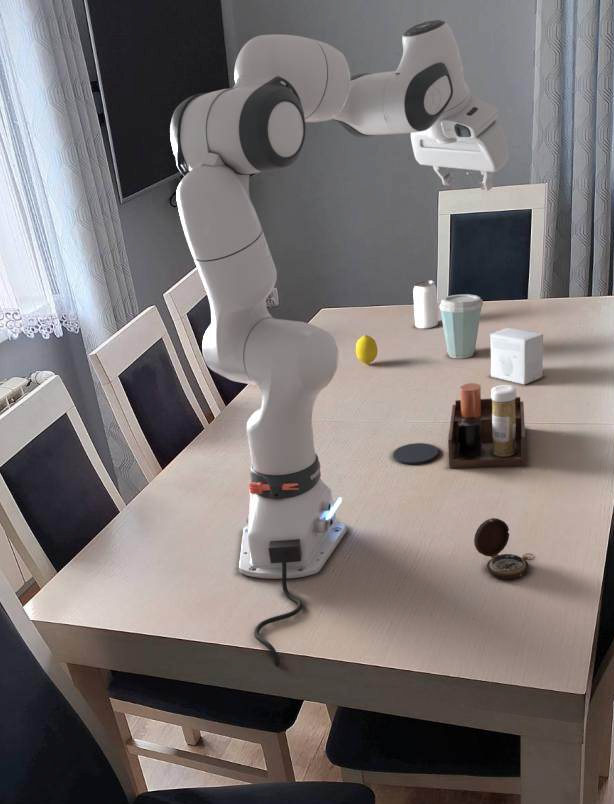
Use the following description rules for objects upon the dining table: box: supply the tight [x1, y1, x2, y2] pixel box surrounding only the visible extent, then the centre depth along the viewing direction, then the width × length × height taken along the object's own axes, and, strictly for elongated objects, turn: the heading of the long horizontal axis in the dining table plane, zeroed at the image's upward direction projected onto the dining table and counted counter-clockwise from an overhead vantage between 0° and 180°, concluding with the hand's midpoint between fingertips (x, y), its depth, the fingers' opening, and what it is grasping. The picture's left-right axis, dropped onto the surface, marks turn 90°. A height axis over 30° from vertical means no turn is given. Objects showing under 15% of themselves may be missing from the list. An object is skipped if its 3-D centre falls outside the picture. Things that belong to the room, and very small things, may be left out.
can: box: [412, 280, 439, 330], centre depth 246 cm, size 6×6×12 cm
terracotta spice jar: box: [459, 382, 482, 418], centre depth 176 cm, size 4×4×6 cm
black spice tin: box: [458, 417, 483, 459], centre depth 171 cm, size 4×4×7 cm
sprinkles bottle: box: [490, 384, 517, 458], centre depth 168 cm, size 5×5×13 cm
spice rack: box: [447, 396, 526, 469], centre depth 173 cm, size 18×14×7 cm
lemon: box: [355, 334, 378, 366], centre depth 226 cm, size 6×6×8 cm
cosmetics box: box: [489, 327, 544, 385], centre depth 202 cm, size 10×6×10 cm, turn 34°
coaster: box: [392, 442, 439, 465], centre depth 176 cm, size 9×9×1 cm
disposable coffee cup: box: [438, 293, 484, 360], centre depth 219 cm, size 11×11×15 cm
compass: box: [473, 517, 536, 580], centre depth 135 cm, size 8×8×7 cm
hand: (468, 186), depth 163 cm, fingers open, 8 cm apart
